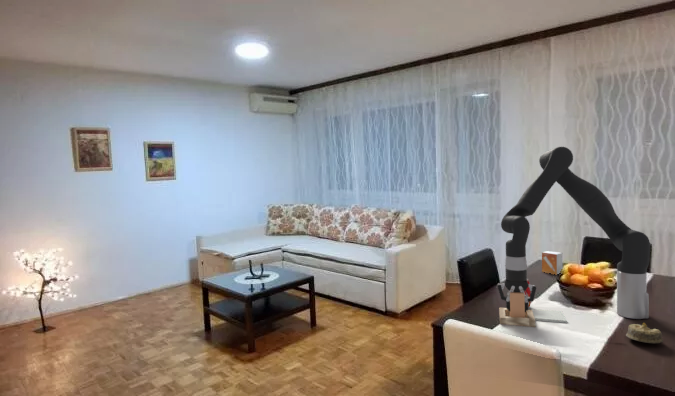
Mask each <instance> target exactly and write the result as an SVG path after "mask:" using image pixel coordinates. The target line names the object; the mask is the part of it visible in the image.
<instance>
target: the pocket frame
mask: <svg viewBox="0 0 675 396" xmlns="http://www.w3.org/2000/svg"><path fill="white" fill-rule="evenodd" d="M498 313H499V324H500V325H504V326H505V325H506V326H507V325H508V326H520V327H527V328H528V327H530V328H536V320H535V318H534V315H533V312H532V309H528V311H526V312H525V318H521V317H510V311H508V309H507V308H506V307H499V308H498Z"/></svg>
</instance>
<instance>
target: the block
mask: <svg viewBox="0 0 675 396" xmlns="http://www.w3.org/2000/svg"><path fill="white" fill-rule="evenodd" d="M509 317H521V318H526V317H525V298H524V293H520V292H513V293H511V292H510V316H509Z"/></svg>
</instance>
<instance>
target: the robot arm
mask: <svg viewBox="0 0 675 396" xmlns="http://www.w3.org/2000/svg"><path fill="white" fill-rule="evenodd" d="M538 160H539V161H538V162H539V166H540V167H541V169H542V170H543V171H542V172H541V173H540V174H539V176H537V178H536V179H535V180H534V181H533V182H532V183H531V184H530V185H529V186H528V187H527V188H526V189H525V191H524V192H523V193H522V194H521V195H522V196H521V197H520V199H519V200H518V201H517V203H516V204H515V205H514V206H513V207H512V208H510V209H509V210H508V211H507V212H506V213H505V215H504V216H503V218H502V219H501V223H500V227H501V230H502V231H503V232H505V233H507V234H512V238H511V239H509V240H507V241H505V259H504V260H505V262H504V263H505V265H504V267H505V281H504V282H503V283H500V282H498V283H497V289H498V293H499V296H500V300H502V301H505V306H506V307H505V308H507V309H508V311H510V292H511V293H513V292H520V293H524V298H525V312H526V311H528V310H529V307H528V302H530V301H531V302H533V301H534V299H535V295H536V291H537V286H536V285H535V284H531V283H530V284H528V282H527V278H528V263H527V255H526V253H527V249H526V245H527V243H528V239H529V234H530V230H531V229H530V228H531V226H530V222H529V219H527V217H529V216H530V217H531V216H533V214H534V213H536V211H537V210H538V208H539V206H540V205H541V203H542V202H543V200H544V198H545V197H546V195H547V194H548V193H549V191H550V190H551V188H552V187H553V186H554V184H555V183H557V184H558V185H560V187H561V188H563V190H564V191H565V192H566V193H567V194H568V195H569V196H570V198H572V199H573V200H574V201H575V203H576V204H577V205H578V206H579V208H581V210H583V211H584V212H585V214H587V215H588V217H590V219H591V220H592V221H593V222H594V223H595V224H597V225H598V226H599V227H600V228H601V229H602V231H604V233H605V234H606V235H607V238H609V240H610V241H611V242H612V244H613V245H614V246H615V247H616V249H618V251H620V252H621V253H622V254H621V261H619V262H618V263H617V264H616V313H617V314H618V316H621V317H623V318H628V319H634V320H635V319H636V320H641V319H643V320H644V319H649V313H650V312H649V307H650V306H649V305H650V304H649V298H650V297H649V292H647V275H648V274H647V270H648V267H649V264H650V256H651V243H650V239H649V237H648V236H647V235H646V233H644V232H642V231H637V230H634V229H633V228H631V227H629V226H628V225H627V224H626V223H624V222H623V221H622V219H621V218H620V217H619V216H618V215H617V213H616V211H615V209H614V207H613V205H612V203H611V201H610V199H609V198H608V197H607V196H606V195H605V194H604V192H602V190H600V188H598V186H596V185H594V184H593V183H591V182H590V181H588V180H585V179H584V178H581V177H579V176H578V175H576V174H575V173H574V172H573V171H572V170H571V169H570V167H571V166H572V164H573V161H574V154H573V152H572V150H570V149H569V148H568V147H566V146H557V147H554V148H552V149H550V150H547V151H545V152H543V153H541V155H540V157H539V159H538ZM505 287H506V289H507V290H508V291H507V294H506V296H505V295H504V291H503V290H504V288H505ZM528 287H529V289H530V291H531V292H530V296H529V297H528V298H527V297H526V294H525V290H526V289H527V288H528Z"/></svg>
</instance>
